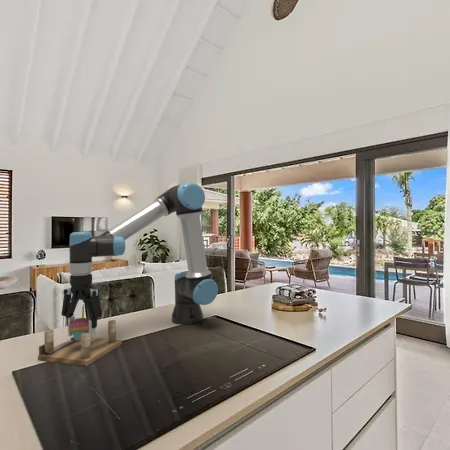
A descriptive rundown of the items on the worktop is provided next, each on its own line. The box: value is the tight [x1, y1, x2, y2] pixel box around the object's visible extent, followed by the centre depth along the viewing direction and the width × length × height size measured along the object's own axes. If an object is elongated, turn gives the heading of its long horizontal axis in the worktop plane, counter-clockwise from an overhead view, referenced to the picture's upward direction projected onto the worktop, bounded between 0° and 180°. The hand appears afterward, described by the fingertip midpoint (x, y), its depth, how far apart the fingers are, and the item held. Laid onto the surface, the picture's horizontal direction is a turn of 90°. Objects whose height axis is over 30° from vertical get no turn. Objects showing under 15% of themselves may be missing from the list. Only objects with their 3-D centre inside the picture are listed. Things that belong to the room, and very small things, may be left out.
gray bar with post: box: [43, 329, 77, 353], centre depth 119 cm, size 3×14×8 cm, turn 165°
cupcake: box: [69, 303, 91, 340], centre depth 119 cm, size 9×8×12 cm
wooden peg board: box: [37, 317, 123, 367], centre depth 119 cm, size 20×20×10 cm
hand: (81, 335), depth 119 cm, fingers closed on cupcake, 8 cm apart
